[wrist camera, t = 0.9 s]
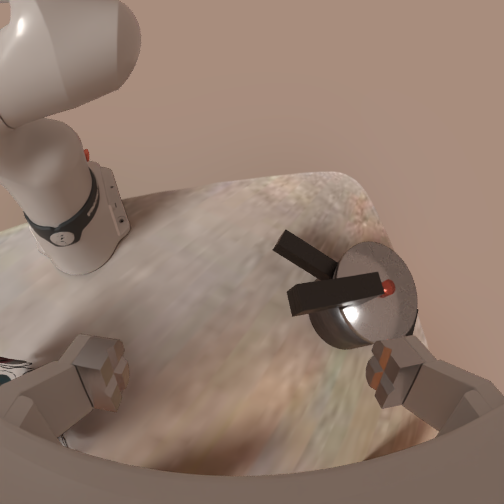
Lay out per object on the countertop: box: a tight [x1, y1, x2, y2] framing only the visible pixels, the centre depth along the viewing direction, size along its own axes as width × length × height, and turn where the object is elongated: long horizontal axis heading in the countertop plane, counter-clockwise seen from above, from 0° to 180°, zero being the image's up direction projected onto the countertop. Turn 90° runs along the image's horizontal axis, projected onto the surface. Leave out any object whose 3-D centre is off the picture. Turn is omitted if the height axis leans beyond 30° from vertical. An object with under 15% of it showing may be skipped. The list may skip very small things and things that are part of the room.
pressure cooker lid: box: [287, 242, 417, 344], centre depth 37 cm, size 26×17×8 cm, turn 101°
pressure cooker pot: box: [273, 230, 418, 349], centre depth 46 cm, size 29×16×10 cm, turn 61°
